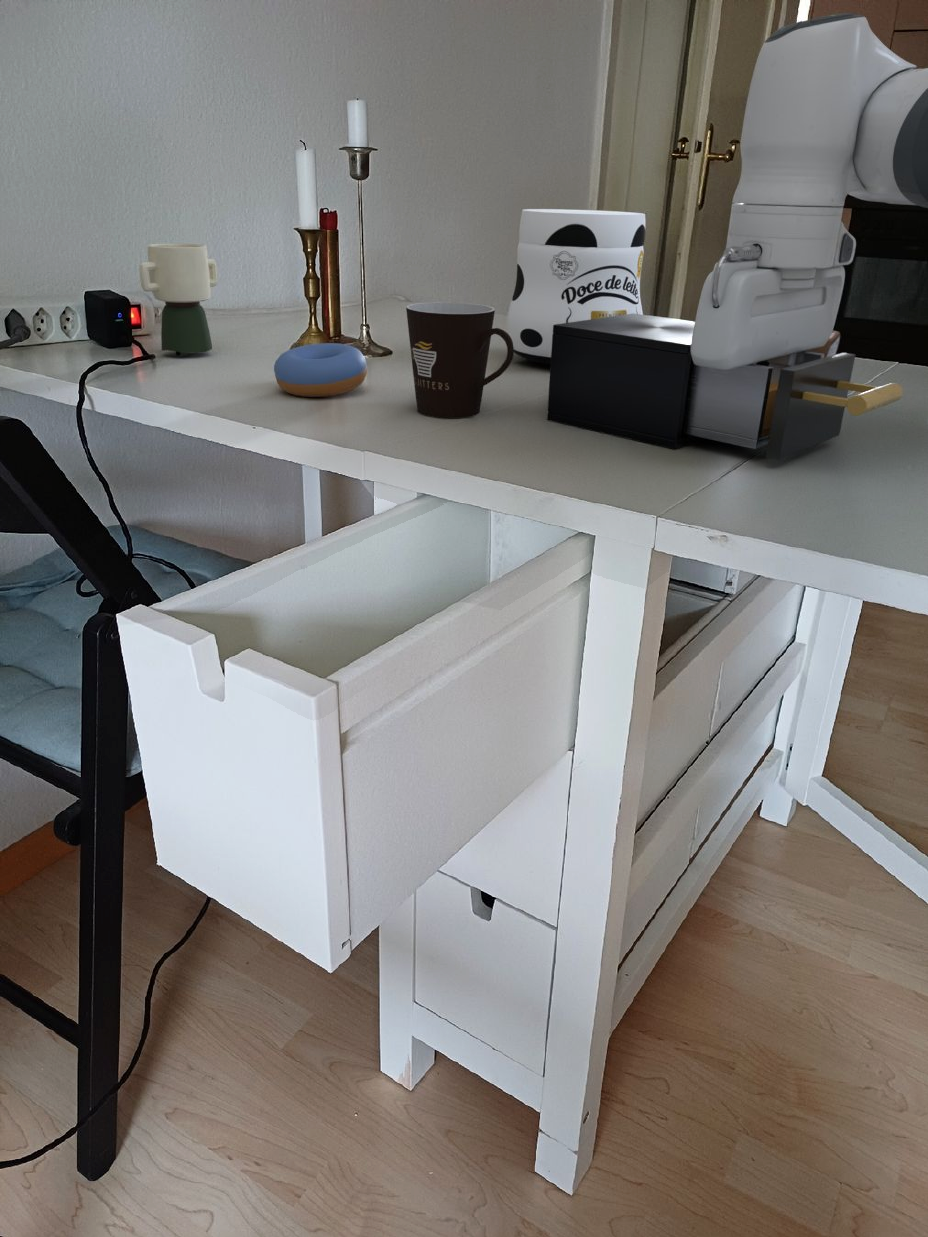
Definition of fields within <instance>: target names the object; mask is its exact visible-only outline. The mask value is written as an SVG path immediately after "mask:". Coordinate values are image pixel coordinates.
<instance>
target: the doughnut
mask: <svg viewBox="0 0 928 1237" xmlns="http://www.w3.org/2000/svg"><path fill="white" fill-rule="evenodd" d="M367 364H368V362H367V360H366V358H365V355H364V354H363V353H362V351H361V350H359V349H358V347H357V348H356V347H354V346H352V345H349V344H345V343H334V342H333V343H332V342H327V343H326V342H325V343H312V344H306V345H301V346H297V347H292V348H291V349H288V350H286V351H284V352H283V353H281V354H280V355H279V357H278V358H277V359H276V360H275V362H274V365H273V372H274V378H275V381H276V382H277V385H278V386H279V388H280V389H282V390H283V391H284V392H286V393H288V394H290V395H293V396H297V397H303V398H304V397H305V398H323V397H330V396H332V397H333V396H336V395H340V394H345V393H347V392H351V391H353V390H355V389H356V388H359V386H361V385H362V384H363V383H364V381H365V379H366V377H367V374H368V366H367Z"/></svg>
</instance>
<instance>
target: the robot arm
mask: <svg viewBox="0 0 928 1237" xmlns="http://www.w3.org/2000/svg"><path fill="white" fill-rule="evenodd" d="M752 72H753V73H752V76H751V80H750V84H749V90H748V93H747V99H746V105H745V110H744V116H743V122H742V128H741V136H740V142H739V150H740V156H741V171H740V177H739V181H738V184H737V187H736V189H735V192H734V194H733V197H732V201H731V203H732V204H731V209H730V216H729V222H728V223H729V224H728V231H727V237H726V246H725V249H724V250H723V254H722V255H721V257H720V259H719V260H718V261H717V262H716V263H715V264H714V267H713V270H712V271H711V272H709V274H708V275H707V277H706V279H705V280H704V283H703V286H702V288H701V292H700V297H699V301H698V304H697V309H696V313H695V314H696V315H695V320H694V322H695V324H694V330H693V335H692V341H691V356H692V360H693V362H694V364H695V365H698V366H703V367H708V368H715V369H722V370H729V369H733V368H737V367H741V366H745V365H749V364H756V363H757V362H761V361H766V360H767V362H769V363H770V364H769V367H773V371H772V377H771V382H774V383H778V382H779V377H780V371H781V369H784V368H788V367H791V366H794V365H795V362H796V356H797V353H798V352H802V351H806V350H810V349H814V348H818V347H822V346H824V345H825V344H826V342H827V341H828V339H829V337H830V335H831V333H832V330H833V331H834V327H835V324H836V320H837V315H838V313H839V308H840V304H841V300H842V296H843V290H844V285H845V278H846V270H845V267H844V266H848V265H850V264H851V263H852V262H853V261H854V257H855V253H856V247H857V241H856V238H855V237H854V236H853V235H852V234H851V233H850V232H849V231H848V230H847V228H846V227H845V224H844V223H843V221H842V217H843V212H844V206H845V200H846V197H847V196H848V195H849V196H851V197H854V198H856V199H859V200H862V201H867V202H876V203H885V204H891V205H904V206H905V205H908V206H919V207H921V208H927V209H928V67H926V68H918V67H917V65H916V64H914V63H911V62H909V61H907V60H905V59H904V58H902V57H901V56H899V55H897V54H896V53H894V52H893V51H892V50H891V49H890V48H888V47H887V46H886V45H885V44H884V43H883V42H882V41H881V40H880V39H879V37H878V36H876V34H875V33H874V32H873V30H872V28H871V27H870V24H869V22H868V19H867V17H865V15H862V14H858V13H855V12H854V13H852V12H851V13H850V12H849V13H848V12H843V13H835V14H829V15H823V16H818V17H814V18H812V19H806V20H801V21H797V22H794V23H793V22H792V23H790V24H787V25H784V26H782V27H780V28H778V29H777V30H775V31H774V32H773V33H771V34H770V35H769V36H768V38H766V40H765V41H764V42H763V44H762V46H761V48H760V51H759V53H758V56H757V58H756V61H755V65H754V69H753V71H752Z"/></svg>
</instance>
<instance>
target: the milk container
mask: <svg viewBox="0 0 928 1237" xmlns="http://www.w3.org/2000/svg"><path fill="white" fill-rule="evenodd" d="M645 241H646V214H645V213H642V212H633V211H631V212H630V211H619V210H618V211H617V210H615V211H614V210H596V209H594V210H592V209H563V208H562V209H561V208H559V209H557V208H526V209H524V208H523V209H522V211H521V214H520V222H519V227H518V245H517V247H516V248H517V249H516V250H517V251H516V260H517V261H516V278H515V279H516V280H515V286H514V289H513V290H514V291H513V294H512V298H511V300H510V305H509V308H508V310H507V318H506V331H507V332H506V333H508V335H509V336H510V337H511V339H512V341H513V348H514V354H515V355H517V356H518V357H521V358H522V359H525V360H527V361H530V362H535V363H539V364H543V365H549V366H551V350H552V335H553V325H555V324H562V323H569V322H577V321H584V320H591V319H598V318H605V317H612V316H619V315H626V314H633V313H634V314H641V315H644V313H643V307H642V300H641V274H642V267H643V262H644V253H645V252H644V247H645V246H644V245H645Z"/></svg>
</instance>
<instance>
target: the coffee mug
mask: <svg viewBox="0 0 928 1237" xmlns="http://www.w3.org/2000/svg"><path fill="white" fill-rule="evenodd" d="M405 311H406V321H407V330H408V337H409V338H408V339H409V348H410V358H411V366H412V375H413V376H412V377H413V384H414V394H415V404H416V411H417V413H419V414H421V415H422V416H426V417H431V418H438V419H464V418H465V419H466V418H472V417H475V416H477V415H479V414H480V413H481V407H482V406H481V405H482V399H483V395H484V394H483V392H484V386H487V385H488V384H490V383H491V382H493V381H495V380H496V379H497V378H499V377H500V376H502V374H503V373H504V372H505V371H506V370H507V369H508V368H509V366H510V365H511V363H512V362H513V358H514V354H515V353H514V348H513V341H512V339H511V337H510V336H509V335H508V333H507V332H506V331H505V330H504V329H502V328H500V327H493V326H494V319H495V312H496V308H495V307H493V306H489V305H485V304H479V303H469V302H453V301H451V302H450V301H449V302H448V301H433V302H432V301H431V302H430V301H429V302H417V303H411V304H408V305H406V306H405ZM493 335H497V336H499V337H500V338H501V339H502V340H503V341H504V343H505V345H506V349H507V353H506V358H505V360H504V362H503V363H502V364H501V366H500V367H499V368H498V369H497V370H495V371H494V372H493V373H491V374H489V375H488V376H487V377H486V373H487V366H488V365H487V364H488V360H489V352H490V347H491V339H492V336H493Z"/></svg>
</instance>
